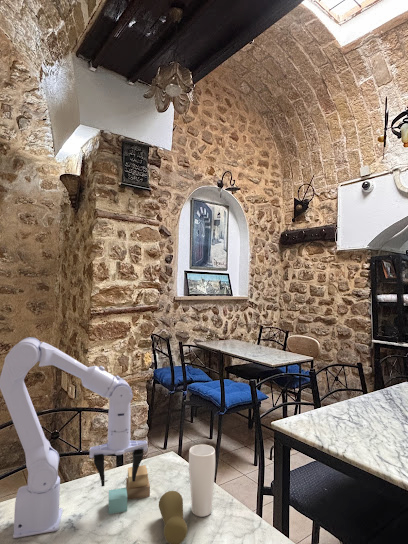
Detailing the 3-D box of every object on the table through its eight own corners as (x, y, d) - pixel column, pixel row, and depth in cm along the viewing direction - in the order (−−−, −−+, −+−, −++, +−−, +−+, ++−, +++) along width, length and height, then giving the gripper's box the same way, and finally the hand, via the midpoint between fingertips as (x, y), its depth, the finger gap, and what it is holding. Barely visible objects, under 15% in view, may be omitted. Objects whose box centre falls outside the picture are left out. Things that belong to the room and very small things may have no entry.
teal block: (108, 514, 83) (108, 500, 84) (108, 504, 88) (108, 490, 88) (127, 511, 85) (127, 497, 85) (126, 501, 89) (126, 487, 89)
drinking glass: (197, 523, 80) (198, 458, 81) (183, 508, 86) (184, 448, 87) (220, 513, 84) (220, 451, 85) (205, 499, 89) (205, 441, 90)
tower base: (127, 501, 89) (127, 489, 89) (126, 489, 95) (126, 478, 95) (149, 497, 91) (149, 486, 91) (147, 485, 97) (147, 475, 97)
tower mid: (129, 488, 90) (129, 476, 90) (127, 478, 95) (127, 467, 95) (147, 485, 91) (147, 473, 92) (145, 475, 96) (145, 465, 96)
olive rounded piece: (175, 518, 83) (182, 554, 72) (154, 510, 82) (157, 545, 71) (187, 495, 84) (195, 527, 73) (165, 487, 83) (170, 518, 72)
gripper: (89, 437, 82) (88, 495, 81) (148, 430, 86) (148, 485, 85) (90, 426, 89) (89, 479, 88) (145, 420, 93) (145, 471, 92)
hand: (118, 481), depth 87 cm, fingers open, 7 cm apart
